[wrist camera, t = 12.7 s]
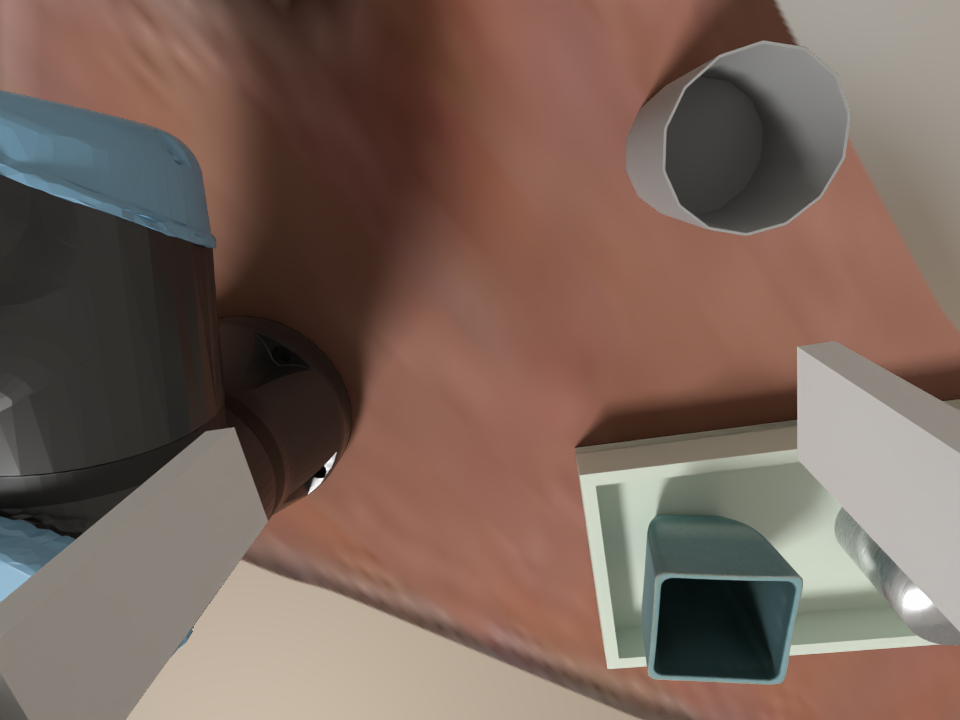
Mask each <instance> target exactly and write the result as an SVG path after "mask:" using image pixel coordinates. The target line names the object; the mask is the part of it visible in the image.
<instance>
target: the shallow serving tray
mask: <svg viewBox="0 0 960 720" xmlns="http://www.w3.org/2000/svg"><path fill="white" fill-rule="evenodd" d="M943 402H945V403H946V404H948V405H950V406H952V407H954V408H955V409H957V410H959V411H960V399H956V400H948V401H943ZM575 454H576V461H577V468H578V474H579V481H580V488H581V495H582V502H583V509H584V516H585V523H586V529H587V536H588V543H589V550H590V557H591V564H592V571H593V578H594V585H595V591H596V598H597V605H598V612H599V619H600V626H601V632H602V638H603V644H604V650H605V656H606V662H607V668H608V669H616V668H629V667H643V666H647V664H646V655H645V646H644V636H643V627H642V596H643V585H644V573H645V559H646V542H647V531H648V526H649V524H650V522H651V521H652V519H653V518H654V517H656V516H658V515H707V516H722V517H726V518H730V519H733V520H736V521H739V522H742V523H744V524H746V525H748V526H750V527H752V528H753V529H755V530H756V531H758V532H759V533H760V534H761V535H763V536H764V537H765V538H766V539H767V540H768V541H769V542H770V543H771V544H772V545H773V547H774V548H775V549H776V550H777V551H778V552H779V553H780V554H781V555H782V556H783V558H784V559H785V560H786V561H787V562H788V563H789V564H790V565H791V566H792V568H793V569H794V570H795V571H796V572H797V573H798V574H799V575H800V577H801V578H802V579H803V589H802V594H801V599H800V603H799V607H798V613H797V617H796V623H795V626H794V631H793V637H792V642H791V647H790V648H791V649H790V653H789V656H790V655H803V654H817V653H830V652H843V651H857V650H870V649H884V648H897V647H910V646H924V645H937V644H936V643H932V642H929V641H927V640H924V639H922V638H920V637H919V636H917V635H916V634H915V633H913V632H912V631H911V630H910V628H909V627H908V626H907V625H906V624H905V623H904V621H903V620H902V619H901V618H900V617H899V615H898V614H897V613H896V612H895V611H894V609H893V608H892V607H891V606H890V605H889V603H888V602H887V601H886V600H885V599H884V597H883V596H882V595H881V594H880V593H879V591H878V590H877V589H876V588H875V587H874V585H873V584H872V583H871V582H870V581H869V579H868V578H867V577H866V576H865V575H864V573H863V572H862V571H861V570H860V569H859V568H858V566H857V565H856V564H855V563H854V562H853V560H852V559H851V558H850V557H849V556H848V554H847V553H846V552H845V551H844V550H843V548H842V547H841V546H840V544H839V543H838V541H837V539H836V536H835V529H834V527H835V521H836V517H837V515H838V512H839V511H840V509H841V507H842V506H841V505H840V504H839V503H838V502H837V501H836V500H835V498H834V497H833V496H832V495H831V494H830V493H829V492H828V491H827V490H826V489H825V488H824V487H823V486H822V485H821V484H820V482H819V481H818V480H817V479H816V478H815V477H814V476H813V475H812V474H811V473H810V472H809V471H808V470H807V469H806V468H805V466H804V465H803V464H802V463H801V462H800V461H799V460H798V459H797V420H791V421H783V422H775V423H767V424H759V425H752V426H744V427H736V428H728V429H720V430H712V431H704V432H696V433H689V434H681V435H673V436H665V437H657V438H649V439H641V440H633V441H626V442H618V443H610V444H602V445H594V446H586V447H578V448H575Z"/></svg>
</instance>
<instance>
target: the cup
mask: <svg viewBox="0 0 960 720" xmlns="http://www.w3.org/2000/svg"><path fill="white" fill-rule="evenodd" d="M850 118H851V113H850V110H849V107H848V104H847V101H846V98H845V95H844V92H843V89H842V86H841V83H840V80H839V77H838V75H837V73H836V72H834V71H833V70H832V69H831V68H830V67H829V66H827V65H826V64H825V63H824V62H822V61H821V60H820V59H819V58H818V57H817V56H815V55H814V54H813V53H812V52H811V51H810V50H808V49H807V48H806V47H801V46H795V45H789V44H783V43H776V42H770V41H764V40H763V41H760V42H757V43H754V44H751V45H748V46H745V47H742V48H739V49H736V50H733V51H730V52H727V53H724V54H721V55H718V56H716V57H715V58H713V59H711V60H709V61H708V62H706V63H704V64H703V65H701V66H699V67H697V68H696V69H694V70H692V71H690V72H689V73H687V74H685V75H683V76H682V77H680V78H678V79H676V80H675V81H673V82H671V83H669V84H668V85H666V86H664V87H663V88H662V89H661V90H660V91H659V92H658V93H657V94H656V95H655V96H653V97H652V98H651V99H650V100H649V101H648V102H647V103H646V104H645V105H644V106H643V107H641V108H640V110H639V112H638V114H637V117H636V119H635V121H634V123H633V125H632V127H631V130H630V132H629V134H628V136H627V138H626V172H627V174H628V176H629V178H630V180H631V182H632V184H633V187H634V189H635V191H636V193H637V195H638V197H640V198H641V199H642V200H643V201H645V202H646V203H647V204H649V205H650V206H651V207H653V208H654V209H655V210H657V211H658V212H659V213H661V214H664V215H667V216H670V217H673V218H676V219H679V220H682V221H685V222H688V223H690V224H693V225H696V226H699V227H702V228H705V229H708V230H714V231H720V232H726V233H732V234H738V235H744V236H747V235H751V234H755V233H758V232H762V231H765V230H769V229H773V228H776V227H780V226H783V225H787V224H788V223H789V222H790V221H792V220H793V219H794V218H796V217H797V216H798V215H799V214H801V213H802V212H803V211H805V210H806V209H807V208H809V207H810V206H811V205H812V204H814V203H815V202H816V201H818V200H819V199H820V198H821V197H822V196H823V194H824V192H825V191H826V189H827V187H828V186H829V184H830V182H831V181H832V179H833V177H834V176H835V174H836V172H837V171H838V169H839V167H840V166H841V164H842V162H843V161H844V159H845V154H846V147H847V140H848V132H849V125H850Z"/></svg>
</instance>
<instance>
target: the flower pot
mask: <svg viewBox="0 0 960 720" xmlns="http://www.w3.org/2000/svg"><path fill="white" fill-rule="evenodd" d="M802 589H803V579H802V578H801V577H800V575H799V574H798V573H797V572H796V571H795V570H794V569H793V568H792V566H791V565H790V564H789V563H788V562H787V561H786V560H785V559H784V558H783V556H782V555H781V554H780V553H779V552H778V551H777V550H776V549H775V548H774V547H773V545H772V544H771V543H770V542H769V541H768V540H767V539H766V538H765V537H764V536H763V535H761V534H760V533H759V532H758V531H756V530H755V529H753V528H752V527H750V526H748V525H746V524H744V523H742V522H739V521H736V520H733V519H730V518H726V517H722V516H707V515H658V516H656V517H654V518H653V519H652V521H651V522H650V524H649V526H648V531H647V542H646V559H645V573H644V585H643V596H642V627H643V636H644V646H645V655H646V664H647V671H648V675H649V677H651V678H652V679H659V680H681V681H684V680H685V681H710V682H728V683H751V684H780V683H782V682H783V680H784V678H785V676H786V672H787V666H788V660H789V653H790V649H791V648H790V647H791V642H792V637H793V631H794V626H795V623H796V617H797V613H798V607H799V603H800V599H801V594H802Z"/></svg>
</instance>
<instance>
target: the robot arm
mask: <svg viewBox="0 0 960 720" xmlns="http://www.w3.org/2000/svg"><path fill="white" fill-rule="evenodd" d="M213 248H216V238H215V237H214V236H213V235H212V234H211V230H210V223H209V217H208V210H207V203H206V197H205V190H204V184H203V177H202V171H201V168H200V166H199V163H198V161H197V159H196V157H195V156H194V154H193V153H192V152H191V150H190V149H189V148H188V147H187V146H186V145H185V144H184V143H183V142H181V141H180V140H179V139H178V138H176V137H174V136H173V135H171V134H169V133H167V132H165V131H163V130H161V129H158V128H155V127H152V126H149V125H146V124H142V123H138V122H135V121H131V120H127V119H123V118H119V117H115V116H112V115H108V114H104V113H99V112H95V111H91V110H87V109H83V108H78V107H74V106H70V105H65V104H61V103H57V102H52V101H48V100H43V99H39V98H34V97H30V96H25V95H21V94H16V93H11V92H7V91H2V90H0V720H126V718H127V717H128V715H129V714H130V713H131V711H132V710H133V708H134V707H135V706H136V704H137V703H138V702H139V700H140V699H141V697H142V696H143V695H144V693H145V692H146V690H147V689H148V688H149V686H150V685H151V684H152V682H153V681H154V679H155V678H156V677H157V675H158V674H159V672H160V671H161V669H162V668H163V667H164V665H165V664H166V663H167V661H168V660H169V659H170V657H171V656H172V655H173V654H174V653H175V652H176V650H177V649H178V648H180V647H181V646H182V645H183V644H185V643H186V641H187V640H188V638H189V637H190V635H191V634H192V632H193V631H192V628H194V625H195V623H196V622H197V620H198V619H199V617H200V616H201V615H202V613H203V612H204V610H205V609H206V608H207V606H208V605H209V603H210V602H211V601H212V599H213V598H214V596H215V595H216V594H217V592H218V591H219V589H220V588H221V587H222V585H223V583H224V582H225V581H226V580H227V578H228V577H229V575H230V574H231V572H232V571H233V570H234V568H235V567H236V565H237V564H238V562H239V561H240V560H241V558H242V557H243V556H244V554H245V553H246V552H247V550H248V549H249V547H250V546H251V545H252V543H253V542H254V540H255V539H256V538H257V536H258V535H259V533H260V532H261V531H262V529H263V528H264V527H265V525H266V524H267V522H268V520H269V519H270V518H271V516H272V515H273V514H275V513H277V512H279V511H280V510H282V509H284V508H286V507H287V506H289V505H291V504H293V503H294V502H296V501H298V500H300V499H301V498H303V497H305V496H307V495H308V494H310V493H311V492H312V491H314V490H315V489H316V488H318V487H319V486H320V485H321V484H322V483H323V482H324V481H325V480H326V479H327V477H328V476H329V475H330V474H331V472H332V471H333V469H334V468H335V466H336V464H337V463H338V461H339V460H340V458H341V456H342V455H343V453H344V451H345V448H346V446H347V443H348V440H349V436H350V431H351V408H350V402H349V398H348V394H347V391H346V388H345V386H344V383H343V381H342V379H341V377H340V375H339V374H338V372H337V370H336V369H335V367H334V366H333V364H332V363H331V362H330V360H329V359H328V358H327V357H326V355H325V354H324V353H323V352H322V351H321V350H320V349H319V348H318V347H317V346H316V345H314V344H313V343H312V342H311V341H310V340H308V339H307V338H306V337H304V336H303V335H301V334H300V333H298V332H296V331H294V330H293V329H291V328H289V327H287V326H285V325H282V324H280V323H277V322H274V321H271V320H267V319H263V318H258V317H250V316H232V317H225V318H220V319H218V310H217V299H216V288H215V275H214V260H213ZM797 459H798V460H799V461H800V462H801V463H802V464H803V465H804V466H805V468H806V469H807V470H808V471H809V472H810V473H811V474H812V475H813V476H814V477H815V478H816V479H817V480H818V481H819V482H820V484H821V485H822V486H823V487H824V488H825V489H826V490H827V491H828V492H829V493H830V494H831V495H832V496H833V497H834V498H835V500H836V501H837V502H838V503H839V504H840V505H841V506H842V507H843V508H844V509H845V510H846V511H847V512H848V513H849V514H850V515H851V517H852V518H853V519H854V520H855V521H856V522H857V523H858V524H859V525H860V526H861V527H862V528H863V529H864V530H865V531H866V533H867V534H868V535H869V536H870V537H871V538H872V539H873V540H874V541H875V542H876V543H877V544H878V545H879V546H880V547H881V549H882V550H883V551H884V552H885V553H886V554H887V555H888V556H889V557H890V558H891V559H892V560H893V561H894V562H895V563H896V565H897V566H898V567H899V568H900V569H901V570H902V571H903V572H904V573H905V574H906V575H907V576H908V577H909V578H910V579H911V580H912V582H913V583H914V584H915V585H916V586H917V587H918V588H919V589H920V590H921V591H922V592H923V593H924V594H925V595H926V596H927V598H928V599H929V600H930V601H931V602H932V603H933V604H934V605H935V606H936V607H937V608H938V609H939V610H940V611H941V612H942V614H943V615H944V616H945V617H946V618H947V619H948V620H949V621H950V622H951V623H952V624H953V625H954V626H955V627H956V628H957V630H958V631H959V632H960V411H959V410H957V409H955V408H954V407H952V406H950V405H948V404H946V403H945V402H943V401H941V400H939V399H937V398H936V397H934V396H932V395H930V394H929V393H927V392H925V391H923V390H921V389H920V388H918V387H916V386H914V385H912V384H911V383H909V382H907V381H905V380H904V379H902V378H900V377H898V376H896V375H895V374H893V373H891V372H889V371H887V370H886V369H884V368H882V367H880V366H878V365H877V364H875V363H873V362H871V361H870V360H868V359H866V358H864V357H862V356H861V355H859V354H857V353H855V352H853V351H852V350H850V349H848V348H846V347H844V346H843V345H841V344H839V343H837V342H836V341H833V342H826V343H819V344H812V345H805V346H798V347H797Z"/></svg>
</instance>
